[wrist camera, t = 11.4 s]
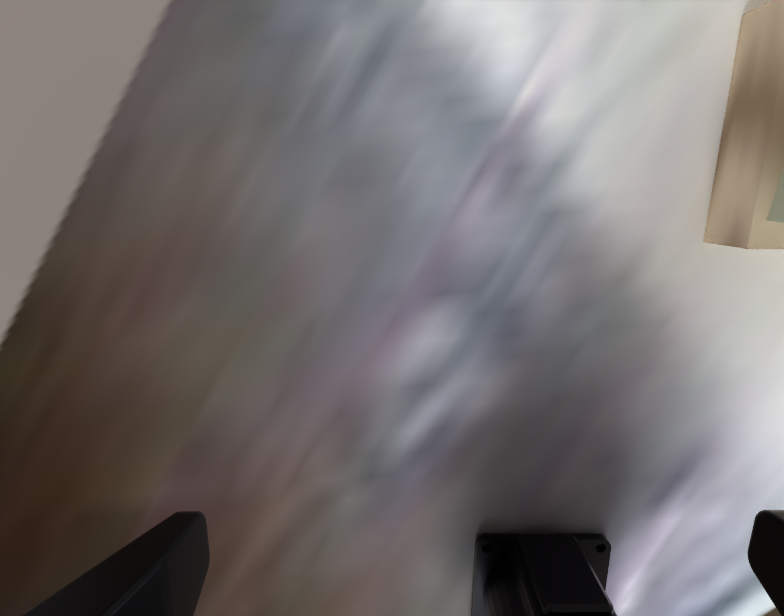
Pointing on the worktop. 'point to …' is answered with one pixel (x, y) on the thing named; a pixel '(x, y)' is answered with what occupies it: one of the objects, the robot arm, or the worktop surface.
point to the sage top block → (778, 203)
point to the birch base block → (751, 137)
